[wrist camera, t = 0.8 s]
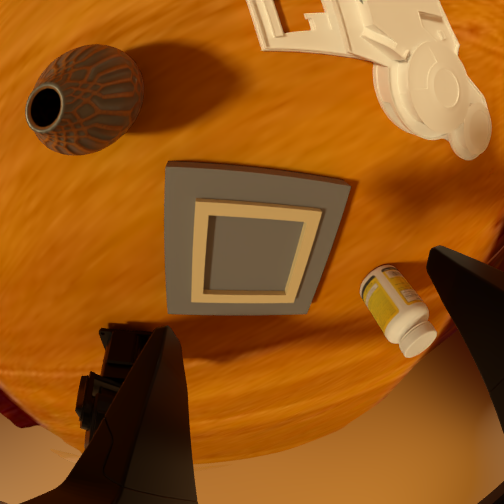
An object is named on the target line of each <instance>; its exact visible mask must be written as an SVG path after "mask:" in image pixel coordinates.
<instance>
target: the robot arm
mask: <svg viewBox="0 0 504 504" xmlns="http://www.w3.org/2000/svg"><path fill="white" fill-rule="evenodd" d="M426 268H427V272H428V274H429V276H430V278H431V280H432V282H433V284H434V286H435V288H436V290H437V292H438V294H439V296H440V298H441V300H442V302H443V304H444V306H445V307H446V309H447V311H448V313H449V314H450V316H451V318H452V319H453V321H454V323H455V325H456V326H457V328H458V330H459V332H460V334H461V335H462V337H463V339H464V341H465V343H466V345H467V347H468V348H469V351H470V353H471V355H472V357H473V359H474V361H475V363H476V365H477V367H478V369H479V371H480V373H481V376H482V378H483V380H484V382H485V384H486V387H487V389H488V392H489V395H490V397H491V400H492V402H493V404H494V407H495V410H496V413H497V415H498V418H499V421H500V424H501V427H502V430H503V433H504V272H503V271H500V270H498V269H496V268H494V267H492V266H489V265H487V264H485V263H482V262H480V261H478V260H476V259H473V258H471V257H468V256H466V255H464V254H461V253H459V252H456V251H454V250H451V249H449V248H446V247H444V246H441V245H439V246H436V247H433V248H431V250H430V252H429V257H428V262H427V266H426ZM99 335H100V338H101V340H102V343H103V346H104V348H105V355H104V360H103V365H102V370H101V375H97V374H95V373H94V372H92V371H90V374H89V376H88V375H87V376H81V380H80V385H79V390H78V396H77V402H76V409H75V411H76V413H77V414H78V416H79V421H80V428H81V429H84V430H86V434H85V445H84V446H85V451H84V452H83V454H82V455H81V457H80V458H79V460H78V461H77V463H76V464H75V466H74V468H73V469H72V471H71V472H70V474H69V475H68V477H67V478H66V480H65V481H64V482H63V483H62V484H61V485H59V486H58V487H57V488H56V489H53V490H51V491H49V492H47V493H45V494H42V495H40V496H38V497H35V498H33V499H30V500H28V501H25V502H23V503H20V504H198V502H197V495H196V487H195V479H194V470H193V460H192V450H191V438H190V425H189V409H188V392H187V383H186V377H185V371H184V364H183V357H182V350H181V345H180V342H179V340H178V338H177V337H176V335H175V334H174V332H173V331H172V329H171V328H170V327H169V326H161V327H157V328H156V329H155V330H154V332H153V333H152V332H142V331H129V330H117V329H106V328H101V329H100V330H99ZM0 504H7V503H5V502H2V501H0ZM478 504H504V481H503V482H502V483H501V484H500V485H499V486H498V487H497V488H496V489H495V490H493V491H492V492H491V493H490V494H489V495H488V496H486V497H485V498H484V499H483V500H481V501H480V502H479V503H478Z"/></svg>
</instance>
